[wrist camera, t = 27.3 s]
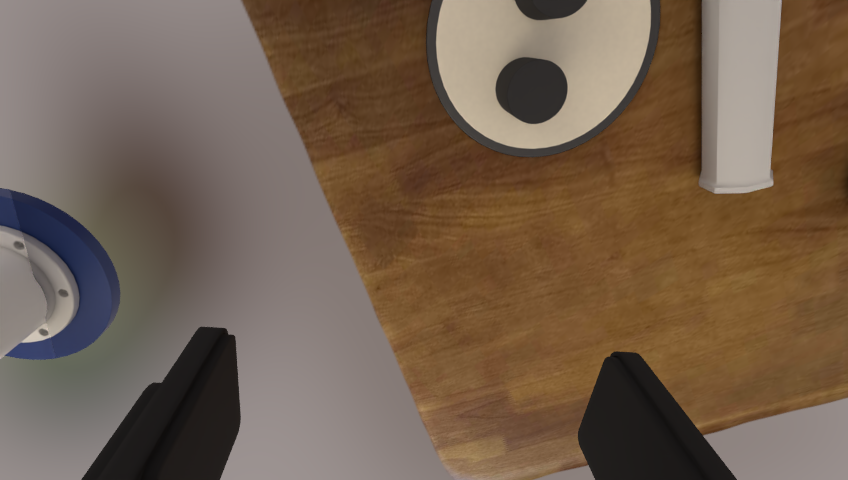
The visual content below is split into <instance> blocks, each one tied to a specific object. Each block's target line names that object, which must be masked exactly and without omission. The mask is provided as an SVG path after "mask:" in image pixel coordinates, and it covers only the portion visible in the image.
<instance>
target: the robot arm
mask: <svg viewBox="0 0 848 480" xmlns="http://www.w3.org/2000/svg"><path fill="white" fill-rule="evenodd" d="M79 298H80V296H79V290H78V286H77V283H76V281H75V278H74V276H73V274H72V273H71V271H70V269H69V268H68V266H67V265H66V264H65V263H64V261H63V260H62V259H61V258H60V257H59V256H58V255H57V254H56V253H55V252H54V251H52V250H51V249H50V248H49V247H48V246H46V245H45V244H43V243H42V242H40V241H39V240H37V239H35V238H34V237H32V236H30V235H28V234H25V233H23V232H21V231H19V230H16V229H12V228H9V227H6V226H1V225H0V359H1V358H2V357H3V356H5V355H6V354H7V353H8V352H10V351H11V350H12V349H13V348H14V347H16V346H17V345H18V344H19V343H27V342H36V341H42V340H45V339H47V338H50V337H53V336H54V335H56V334H57V333H59V332H61V331H62V330H63V329H64V328H65V327H66V326H67V325H68V324H70V323H71V321H72V320H73V318H74V317H75V316H76V313H77V310H78V307H79ZM240 417H241V416H240V402H239V386H238V371H237V356H236V341H235V336H234V335H228V331H227V329H225V328H213V327H200V328H198V330H197V331H196V332H195V334H194V335H193V337H192V338H191V340H190V342H189V343H188V344H187V346H186V347H185V349H184V350H183V352H182V353H181V355H180V356H179V358H178V360H177V361H176V362H175V364H174V366H173V367H172V368H171V370H170V371H169V373H168V374H167V376H166V377H165V379H164V380H163V382H162V383H152V384H151V385H149V386H148V387H147V388H146V389H145V390H144V391H143V393H142V395H141V396H140V397H139V399H138V400H137V401H136V403H135V404H134V406H133V407H132V409H131V410H130V412H129V413H128V415H127V416H126V417H125V419H124V420H123V421H122V423H121V424H120V426H119V427H118V428H117V430H116V431H115V433H114V434H113V436H112V437H111V438H110V440H109V441H108V443H107V444H106V446H105V447H104V448H103V450H102V451H101V453H100V454H99V455H98V457H97V458H96V460H95V461H94V463H93V464H92V465H91V467H90V468H89V470H88V471H87V473H86V474H85V475H84V477H83V478H82V480H220V478H221V475H222V473H223V470H224V468H225V465H226V462H227V460H228V457H229V455H230V452H231V450H232V446H233V445H234V442H235V440H236V437H237V434H238V431H239V427H240ZM578 441H579V445H580V447H581V450H582V452H583V454H584V456H585V458H586V460H587V463H588V465H589V467H590V469H591V471H592V473H593V476H594V478H595V480H737V479H736V478H735V477H734V475H733V474H732V473H731V471H730V470H729V469H728V468H727V466H726V465H725V464H724V462H723V461H722V460H721V459H720V457H719V456H718V455H717V454H716V452H715V451H714V450H713V448H712V447H711V446H710V444H709V443H708V442H707V441H706V439H705V438H704V437H703V435H702V434H701V433H700V431H699V430H698V429H697V428H696V426H695V425H694V424H693V422H692V421H691V420H690V419H689V417H688V416H687V415H686V413H685V412H684V411H683V410H682V408H681V407H680V406H679V404H678V403H677V402H676V401H675V399H674V398H673V397H672V395H671V394H670V393H669V392H668V390H667V389H666V388H665V386H664V385H663V384H662V383H661V381H660V380H659V379H658V377H657V376H656V375H655V374H654V372H653V371H652V370H651V368H650V367H649V366H648V365H647V363H646V362H645V361H644V359H643V358H642V357H641V356H640V355H639V354H638V353H632V352H613V353H612V354H611V356H610V357H607V358H605V360H604V362H603V365H602V368H601V370H600V373H599V376H598V379H597V381H596V384H595V387H594V390H593V392H592V395H591V398H590V401H589V403H588V406H587V409H586V411H585V414H584V417H583V420H582V422H581V425H580V428H579V431H578Z"/></svg>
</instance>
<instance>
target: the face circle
mask: <svg viewBox="0 0 848 480" xmlns="http://www.w3.org/2000/svg"><path fill="white" fill-rule="evenodd" d="M659 26H660V0H587V2H586V3H585V4H584V5H583V7H582V8H581V9H579V10H578V11H577V12H575V13H574V14H572V15H570V16H568V17H564V18H558V19H549V20H534V19H531V18H528V17H527V16H525V15H524V14H523V13H522V12H521V11H520V10H519V8H518V7H517V5H516V2H515V0H432V3H431V6H430V10H429V16H428V22H427V33H426V50H427V61H428V66H429V72H430V76H431V79H432V82H433V85H434V88H435V91H436V93H437V95H438V97H439V99H440V102H441V104H442V105H443V107H444V108H445V110H446V111H447V113H448V114H449V116H450V117H451V118H452V120H453V121H454V122H455V123H456V124H457V125H458V127H459V128H460V129H462V130H463V131H464V132H465V133H466V134H467V135H468V136H469V137H471V138H472V139H474V140H475V141H477V142H478V143H480V144H481V145H484V146H486V147H488V148H490V149H492V150H494V151H497V152H500V153H504V154H507V155H513V156H519V157H539V156H548V155H553V154H557V153H561V152H564V151H567V150H569V149H572V148H575V147H577V146H579V145H581V144H583V143H585V142H587V141H588V140H590V139H591V138H593V137H594V136H596V135H598V134H599V133H600V132H601V131H603V130H604V129H605V128H606V127H608V126H609V125H610V124H611V123H612V122H613V121H614V120H615V119H616V118H617V117H618V116H619V115H620V114H621V113H622V112H623V111H624V109H625V108H626V107H627V106H628V104H629V103H630V102H631V101H632V99H633V97H634V96H635V94H636V93H637V91H638V90H639V88H640V86H641V84H642V82H643V80H644V78H645V76H646V74H647V72H648V70H649V67H650V64H651V62H652V59H653V56H654V52H655V48H656V44H657V40H658V33H659ZM521 57H530V58H537V59H544V60H549V61H551V62H553V63H555V64H556V65H558V66H559V67H560V68H561V69H562V71H563V72H564V74H565V76H566V79H567V84H568V92H567V97H566V100H565V103H564V105H563V106H562V108H561V110H560V111H559V112H558V113H557V114H556V115H555V116H554V117H553V118H551V119H550V120H548V121H546V122H543V123H539V124H528V123H525V122H522V121H520V120H519V119H517V118H516V117H514V116H513V115H511V114H510V113H508V112H507V111H505V110H504V109H503V108H502V107H501V106H500V104H499V102H498V100H497V97H496V92H495V87H496V81H497V78H498V76H499V74H500V72H501V70H502V69H503V68H504V67H505V66H506V65H507V64H508V63H509V62H511V61H513V60H515V59H517V58H521Z"/></svg>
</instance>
